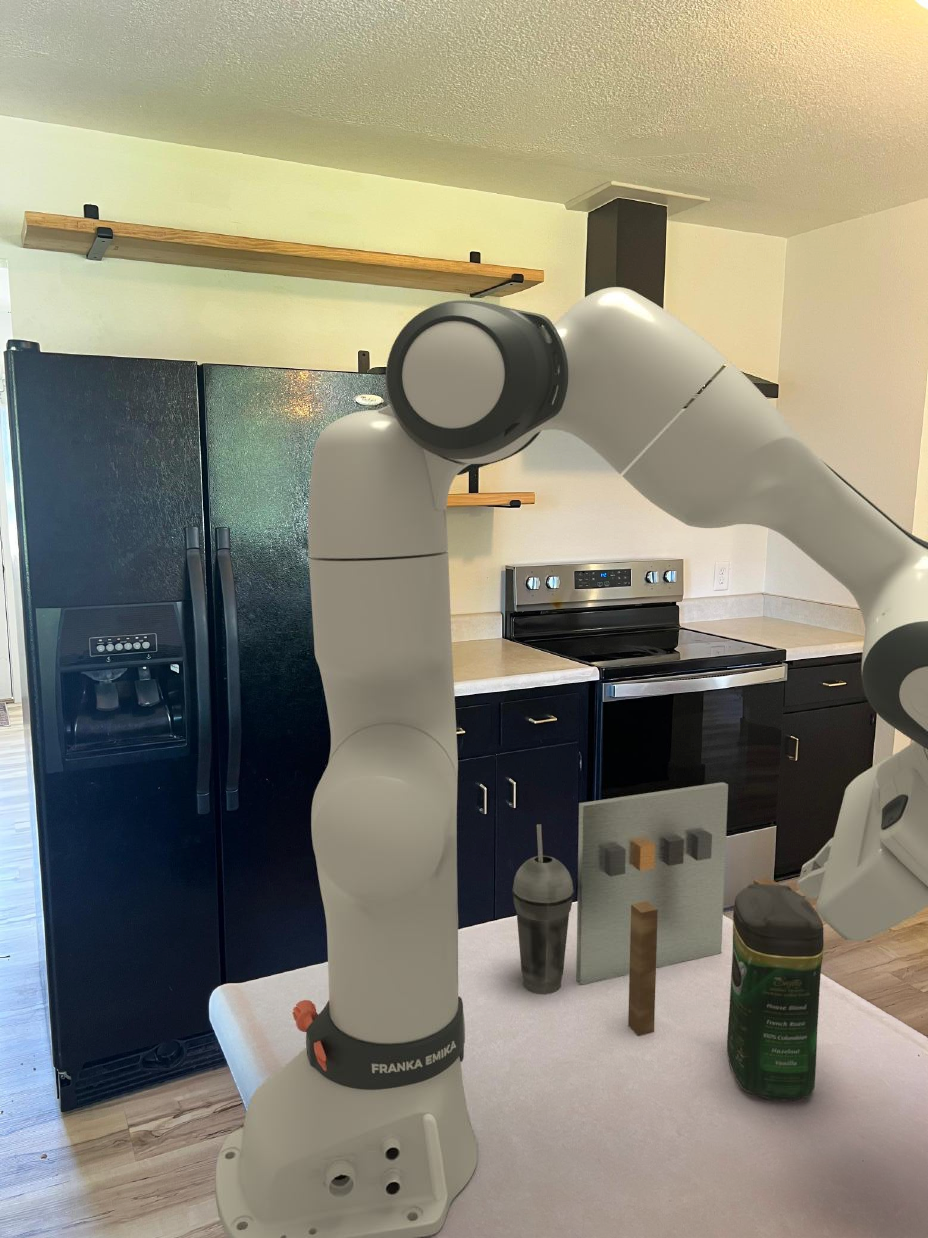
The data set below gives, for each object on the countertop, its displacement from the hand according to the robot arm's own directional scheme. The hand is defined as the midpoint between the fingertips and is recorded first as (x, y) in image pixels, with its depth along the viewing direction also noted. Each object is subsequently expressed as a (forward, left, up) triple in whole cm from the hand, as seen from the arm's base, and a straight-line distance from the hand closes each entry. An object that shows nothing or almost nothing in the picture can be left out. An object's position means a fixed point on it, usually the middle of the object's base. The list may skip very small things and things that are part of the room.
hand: (804, 883), depth 77 cm
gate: (+4, +19, -24) cm, 31 cm away
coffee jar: (+4, +8, -24) cm, 26 cm away
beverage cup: (-10, +31, -24) cm, 40 cm away
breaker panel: (+4, +29, -24) cm, 38 cm away
